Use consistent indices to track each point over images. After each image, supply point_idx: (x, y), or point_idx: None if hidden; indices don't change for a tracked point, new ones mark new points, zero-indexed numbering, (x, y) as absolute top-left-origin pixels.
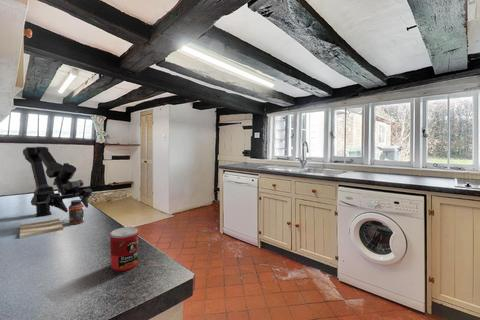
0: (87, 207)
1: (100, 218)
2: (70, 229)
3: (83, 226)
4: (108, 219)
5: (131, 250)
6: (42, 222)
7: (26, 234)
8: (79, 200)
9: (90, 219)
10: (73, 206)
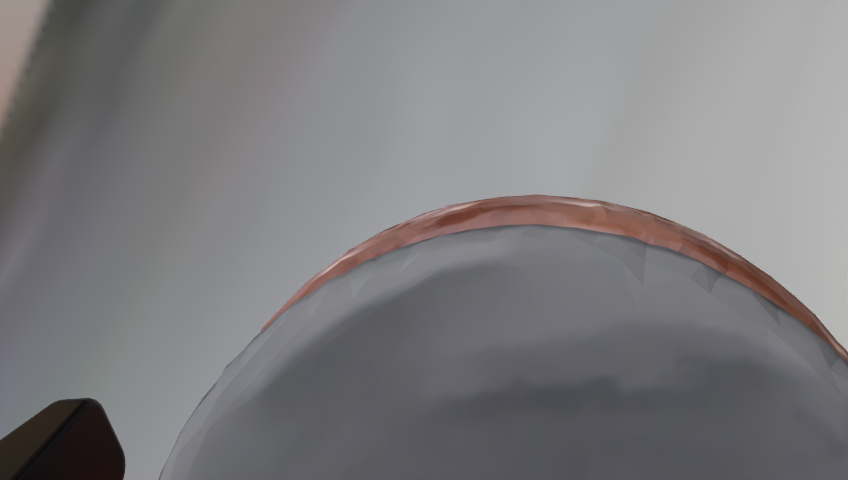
0: (102, 439)
1: (60, 333)
2: (842, 79)
3: (579, 56)
4: (43, 97)
5: None
6: None
7: None
8: (338, 339)
9: None
10: (793, 313)
